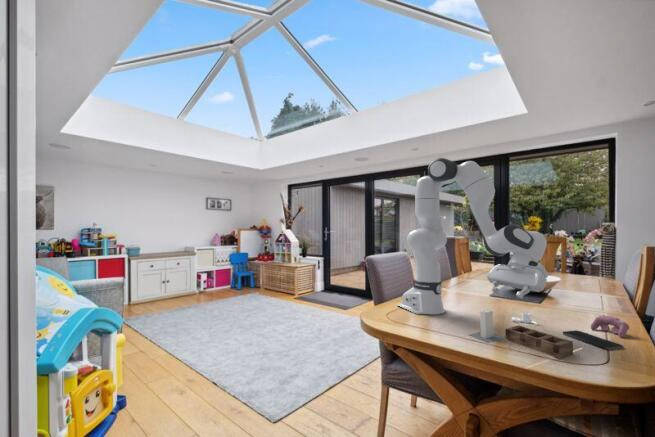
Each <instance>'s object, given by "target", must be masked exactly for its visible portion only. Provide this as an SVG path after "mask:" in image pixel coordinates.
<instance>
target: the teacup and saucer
mask: <svg viewBox="0 0 655 437" xmlns="http://www.w3.org/2000/svg"><path fill="white" fill-rule="evenodd" d="M531 316H532V319H531ZM534 318H535V317H534V315H533V314H531V313H529V312H521V318H519V317H515V316H512V317H511V321H513V322H515V323H517V324H520V325H523V326H530V327H531V326H532V327H534V326H535V327H536V326H538V325H539V323H538V322H536V321H533V320H534ZM530 323H533V324H530Z"/></svg>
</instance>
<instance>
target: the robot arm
mask: <svg viewBox="0 0 655 437" xmlns="http://www.w3.org/2000/svg"><path fill="white" fill-rule="evenodd" d="M427 173H428V175H424V176H422V177H420V178H418V180H417V182H416V187H415V192H414V193H415V195H414V197H415V198H414V201H415V202H414V207H415V208H414V213H415V214H414V215H415V218H416V220H418V223H419V228H416V229H414V230H412V231H410V232H409V233H408V235H407V237H406V243H407V246H408V248H409V249H410V250H411V251H412V254H413V259H414V263H415V279H414V280H412V281H411V284H412V287H411V288H409V289H408V290H407V291H405V292H404V293H403V294H402V297H401V301H400V302H398V303H397V304H396V306H397V305H398V306H400V307H402V308H405V309H407V310H406V311H408V310H409V311H408V312H410V311H411V313H413V314H415V313H416V315H441V314H444V313H445V308H444V303H443V298H442V290H443V289H442V287H443V286H442V281H441V264H440V262H439V261H438V258H437V255H436V251H439V250H440V249H442V248H444V247H445V246H446V244H447V242H448V237H447V234H446V233H445V231H444V228H443V224H442V219H441V214H440V212H441V211H440V210H441V208H440V190H441V188H444V187H447V186H450V185H453V184H455V183H458V184H459V185H460V187H461V189H462V190H463V192H464V194H465V196H466V198H467V200H468V203H469V209H470V213H471V215H472V217H473V219H474V222H475V224H476V226H477V228H478V230H479V232H480V234H481V236H482V241H483V246H484V249H486V251H487V253H489V254H490V255H492V256H495V257H503V256H505V255H507V254H508V253H510V252H512V256H511V258H510V259H509V261H508V263H507V264H503V263H499V264H496V265H494V266H493V267H492V268H491V269H490V271H489V272H488V273H487V275H486V279H487V281H488V282H489V283H490V284H492V286H493V287H492V288H491V292H492V293H495V294H498V293H499V291H500V289H499V288H498V287H499V286H505V287H509V288H510V287H511V288H514V289H521V290H520V291H516V294H515V296H516V297H517V298H519V299H523V297H524V296H526V295H527V294H529V293H530V292H537V293H540V292H542V291H543V290H544V289H545V287H546V285H547V282H548V281H547V278H548V277H549V273H548V272H547V269H546V268H545V266H544V265H543V264H542V263H541V262H539V261H540V260H541V259H542V258H543V256H544V254H545V251H546V248H547V244H548V243H547V242H548V241H547V238H546V236H545V235H544V234H542V233H541V232H538V231H535V230H526V229H524V228H523V226H522V227H521V226H520V225H518V224H515V223H513V224H507V225H506V226H504V227H502V228H500V229H498V230H497V229H496V227H495V225H494V223H493V220H492V219H491V216H490V213H489V208H490V205H491V204H492V201H493V199H494V197H495V195H496V194H495V193H496V189H495V185H494V183H493V181H492V180H491V179H490V178H489V176H488V174H487V173H486V172H485V171H484V169H483V168H482V167H481V166H480V165H479V164H478V163H477V162H475V161H473V160H467V161H465V162H462V163H461V164H457V163H456V162H454V161H452V160H450V159H448V158H444V157H438V158H435V159H433V160H432V161H431V162H430V163H429V165H428V167H427ZM400 307H399V308H400ZM402 308H401V309H402ZM405 309H404V310H405Z"/></svg>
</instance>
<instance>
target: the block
mask: <svg viewBox="0 0 655 437" xmlns="http://www.w3.org/2000/svg"><path fill="white" fill-rule="evenodd" d="M493 313H494V312H493V311H492V310H491V309H485V310H481V311H480V312H479V316H480V317H479V319H480V328H479V329H480V332H481V337H484V338H489V337H492V336H493V333H494V314H493Z"/></svg>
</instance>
